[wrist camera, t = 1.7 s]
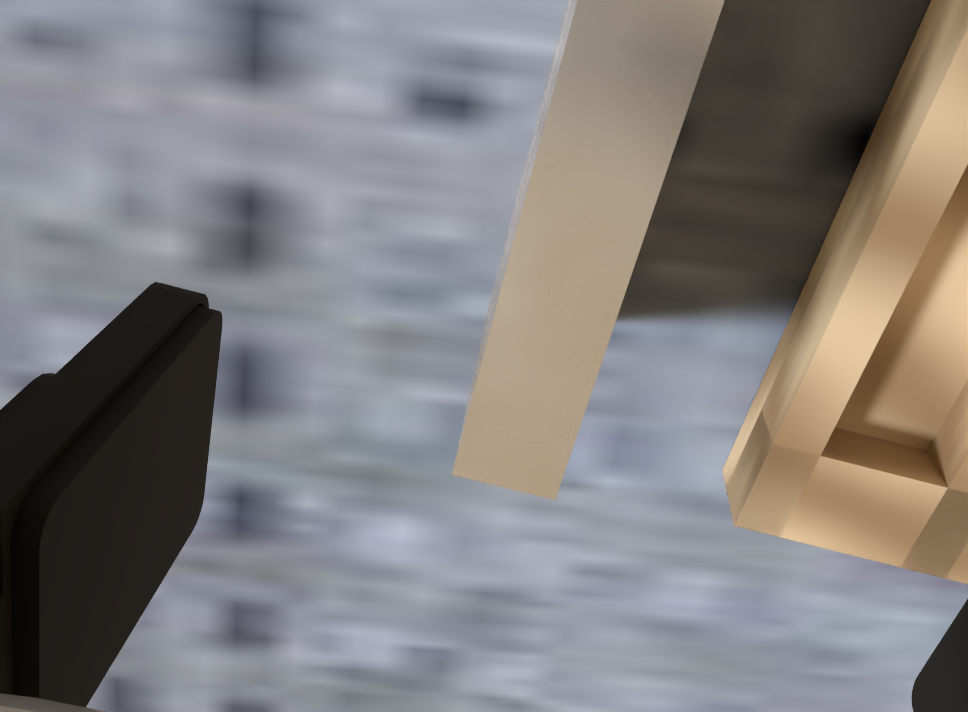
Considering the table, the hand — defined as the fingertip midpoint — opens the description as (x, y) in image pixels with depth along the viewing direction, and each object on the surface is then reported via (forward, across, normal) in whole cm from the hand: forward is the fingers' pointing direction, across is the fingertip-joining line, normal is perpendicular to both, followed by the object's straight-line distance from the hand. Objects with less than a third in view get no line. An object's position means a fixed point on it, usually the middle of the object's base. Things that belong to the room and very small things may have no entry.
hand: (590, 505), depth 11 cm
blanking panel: (+18, 0, -1) cm, 18 cm away
